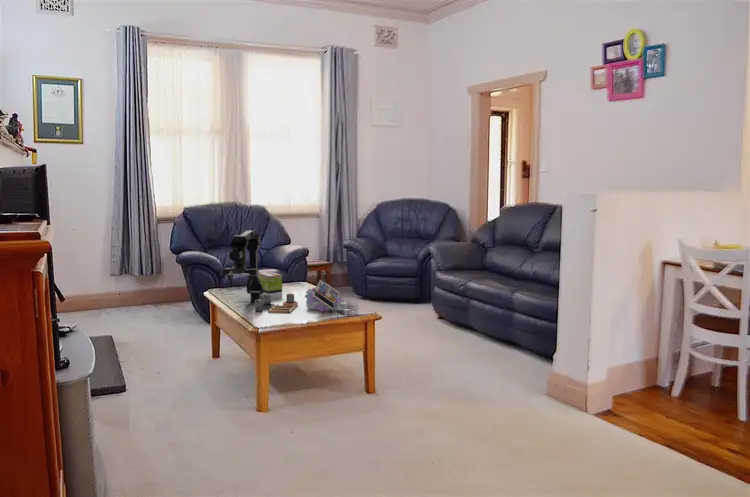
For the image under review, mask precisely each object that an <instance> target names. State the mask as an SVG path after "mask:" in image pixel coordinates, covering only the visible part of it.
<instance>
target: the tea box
mask: <svg viewBox="0 0 750 497" xmlns="http://www.w3.org/2000/svg"><path fill="white" fill-rule="evenodd" d="M258 277H259V278H260V280H261V284H262V286H263V293H262V294H260V297H262V298H263V295H266V294H269V295H271V300H273V299H274V300H275V299H280V298H283V281H282V280H283V274H280V273H277V272H273V271H264V272H259V274H258Z"/></svg>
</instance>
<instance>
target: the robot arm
mask: <svg viewBox="0 0 750 497" xmlns="http://www.w3.org/2000/svg"><path fill="white" fill-rule="evenodd" d="M261 241H262V240H261V238H260V235H258V234H257V233H256V232H255V231H254V230H253V229H252V230H251V229H250V230H249V229H248V230H244V232H242V233H241V234H239V235H237V234H236V235H234V236H233V237H232V240H231V245H230V249H231V251H230V252H229V255H228V257H229V259H230V260H231V261H232V262H233V265H232V267H225V268H223V269H222V270H221V271H222V272H221V273H222V275H224V277H227V278H228V281H229V283H230V286H231V288H234V275H241V274H249V275H248V276H247V277H248V279H247V281H246V282H247V283H246V293H247V294H250V303H251V304H255V300H258V299H260V300H261V296H260V294H262V293H263V286H262V284H261V280H260V278H259V277H258V274H259V273H260V271H259V269H258V268H259V267H258V266H259V265H258V252H259V249H260V247H261V244H262V242H261ZM246 250H247V251H248V254H249V255H248V258H249V260H248V261H249V269H247V264H246V263H247V257H246V253H247V252H246Z"/></svg>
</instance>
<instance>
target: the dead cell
mask: <svg viewBox="0 0 750 497" xmlns="http://www.w3.org/2000/svg"><path fill="white" fill-rule="evenodd" d="M285 295H286V301H287V303H294V301H295V294H294V293H291V292H290V293H286V294H285Z"/></svg>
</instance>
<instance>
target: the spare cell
mask: <svg viewBox="0 0 750 497" xmlns="http://www.w3.org/2000/svg"><path fill="white" fill-rule="evenodd" d="M254 312H255V313H262V312H264V310H263V299H261V298H260V299H258V300H255V303H254Z"/></svg>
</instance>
